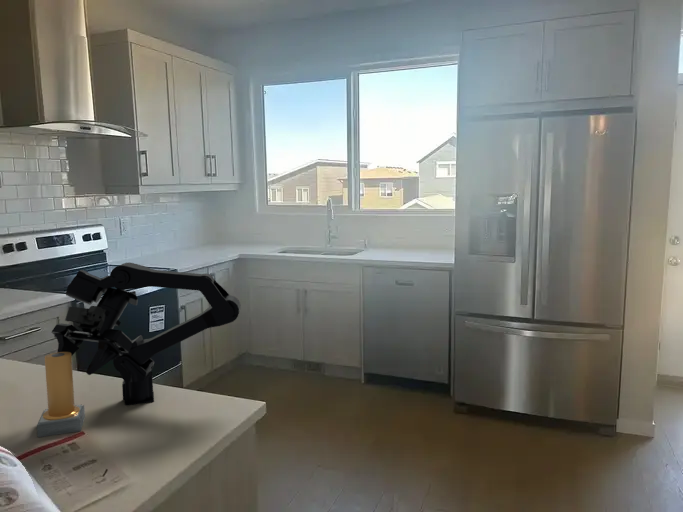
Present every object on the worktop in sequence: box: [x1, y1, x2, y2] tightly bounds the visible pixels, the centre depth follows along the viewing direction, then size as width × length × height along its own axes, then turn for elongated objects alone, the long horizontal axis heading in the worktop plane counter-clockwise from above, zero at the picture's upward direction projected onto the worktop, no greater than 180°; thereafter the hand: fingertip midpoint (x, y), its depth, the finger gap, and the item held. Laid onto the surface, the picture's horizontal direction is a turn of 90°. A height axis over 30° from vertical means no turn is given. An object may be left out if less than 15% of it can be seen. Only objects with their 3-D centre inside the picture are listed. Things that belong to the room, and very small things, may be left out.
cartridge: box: [44, 351, 76, 417], centre depth 111 cm, size 5×5×13 cm
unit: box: [36, 404, 86, 438], centre depth 112 cm, size 8×8×3 cm
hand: (71, 371), depth 113 cm, fingers open, 9 cm apart
